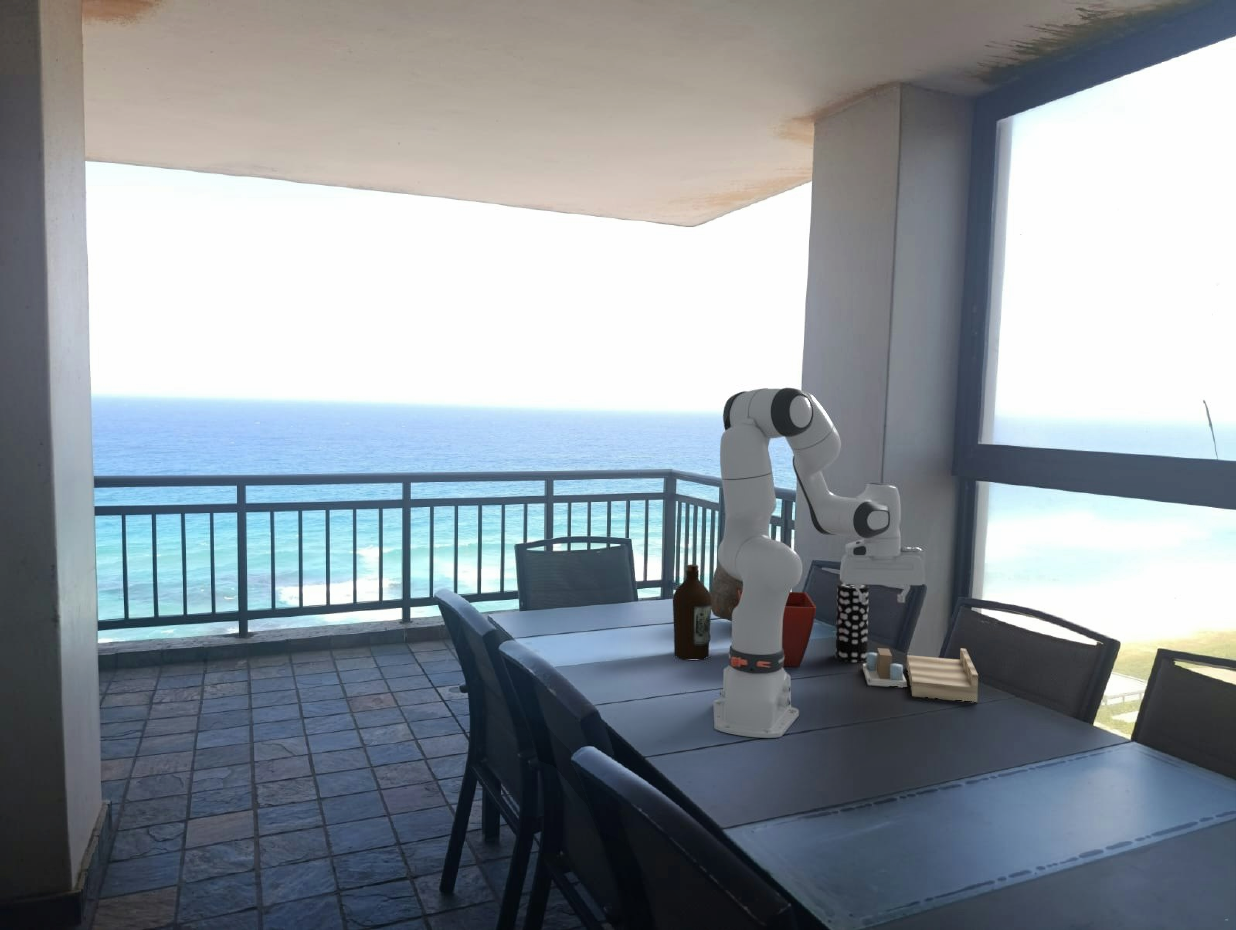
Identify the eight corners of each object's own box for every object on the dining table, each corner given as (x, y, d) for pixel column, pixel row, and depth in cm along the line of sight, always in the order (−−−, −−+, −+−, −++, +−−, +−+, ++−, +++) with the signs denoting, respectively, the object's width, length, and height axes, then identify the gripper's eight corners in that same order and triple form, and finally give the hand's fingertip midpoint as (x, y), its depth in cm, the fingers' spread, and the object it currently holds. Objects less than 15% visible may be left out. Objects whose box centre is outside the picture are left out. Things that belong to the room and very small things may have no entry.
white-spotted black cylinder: (863, 653, 217) (865, 582, 216) (870, 662, 209) (872, 589, 208) (833, 652, 218) (834, 581, 217) (838, 661, 210) (840, 588, 209)
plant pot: (805, 650, 220) (806, 591, 219) (815, 671, 201) (816, 607, 200) (736, 647, 222) (737, 589, 221) (740, 668, 203) (741, 605, 202)
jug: (697, 621, 251) (698, 529, 250) (757, 617, 258) (758, 526, 256) (730, 641, 228) (732, 540, 226) (795, 636, 234) (797, 537, 233)
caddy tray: (906, 689, 190) (907, 660, 189) (868, 686, 191) (868, 658, 191) (898, 672, 202) (899, 645, 202) (862, 670, 204) (863, 643, 204)
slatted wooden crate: (977, 702, 179) (978, 675, 179) (912, 696, 184) (913, 668, 183) (964, 673, 200) (965, 648, 200) (906, 668, 205) (907, 643, 204)
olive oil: (664, 655, 215) (665, 565, 213) (689, 647, 222) (690, 560, 221) (693, 663, 207) (694, 570, 206) (718, 655, 214) (720, 565, 213)
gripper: (922, 545, 197) (921, 599, 198) (838, 544, 200) (838, 598, 201) (928, 549, 191) (927, 605, 192) (842, 548, 194) (842, 603, 195)
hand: (881, 601), depth 196 cm, fingers open, 8 cm apart
